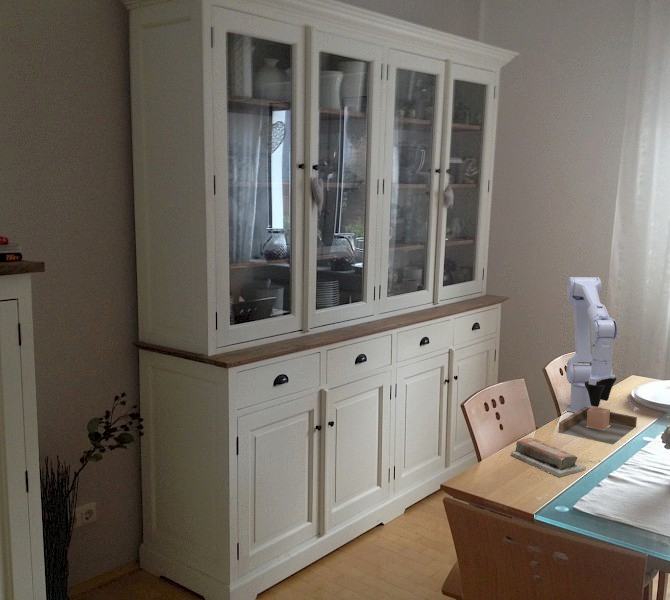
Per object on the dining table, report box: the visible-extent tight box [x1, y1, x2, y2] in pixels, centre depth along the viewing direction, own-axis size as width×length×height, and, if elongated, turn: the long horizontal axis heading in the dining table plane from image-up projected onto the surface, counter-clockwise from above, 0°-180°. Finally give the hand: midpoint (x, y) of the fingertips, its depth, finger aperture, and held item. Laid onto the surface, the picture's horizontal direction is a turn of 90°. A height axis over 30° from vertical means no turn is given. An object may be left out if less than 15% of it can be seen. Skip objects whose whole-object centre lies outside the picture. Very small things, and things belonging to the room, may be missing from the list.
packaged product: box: [510, 437, 587, 478], centre depth 195 cm, size 18×5×10 cm
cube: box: [587, 406, 611, 430], centre depth 222 cm, size 5×5×5 cm
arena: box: [558, 407, 638, 445], centre depth 219 cm, size 20×16×4 cm
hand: (599, 403), depth 221 cm, fingers open, 7 cm apart
